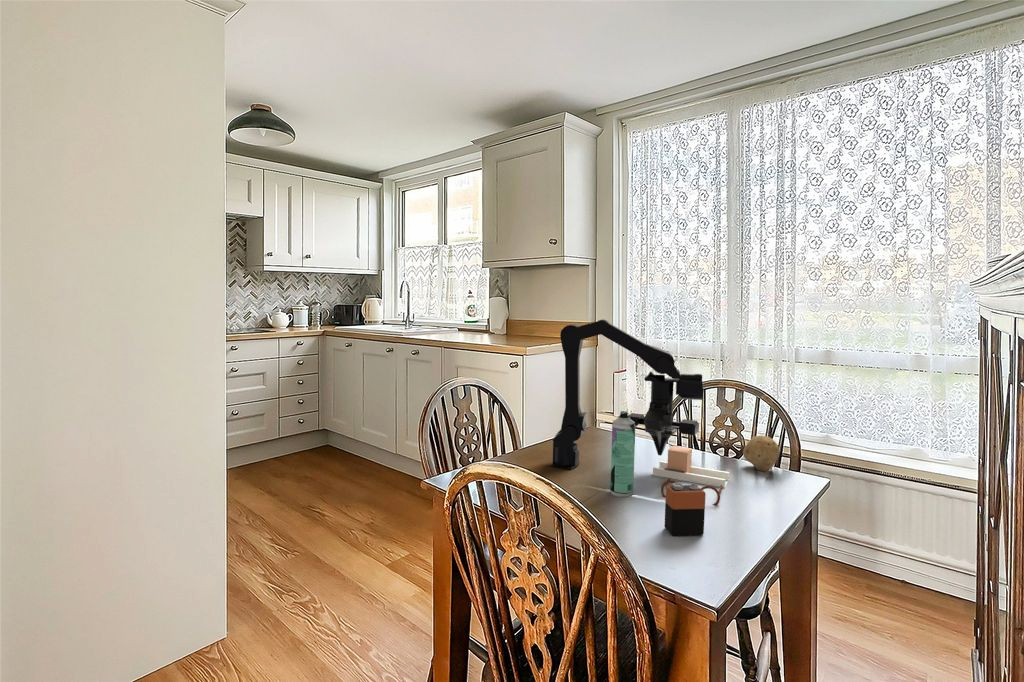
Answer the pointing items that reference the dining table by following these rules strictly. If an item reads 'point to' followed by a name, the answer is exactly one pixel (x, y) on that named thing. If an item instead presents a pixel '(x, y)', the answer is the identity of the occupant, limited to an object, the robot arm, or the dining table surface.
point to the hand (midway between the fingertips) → (660, 455)
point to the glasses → (701, 488)
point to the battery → (684, 509)
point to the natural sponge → (761, 452)
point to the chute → (694, 475)
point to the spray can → (622, 456)
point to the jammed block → (679, 458)
